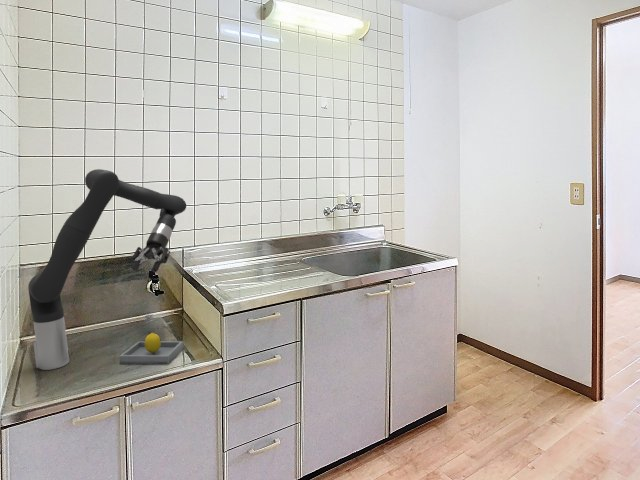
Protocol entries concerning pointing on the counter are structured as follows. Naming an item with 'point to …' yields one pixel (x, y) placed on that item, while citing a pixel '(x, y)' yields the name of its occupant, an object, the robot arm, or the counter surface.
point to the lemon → (152, 343)
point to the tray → (142, 356)
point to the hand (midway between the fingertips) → (143, 270)
